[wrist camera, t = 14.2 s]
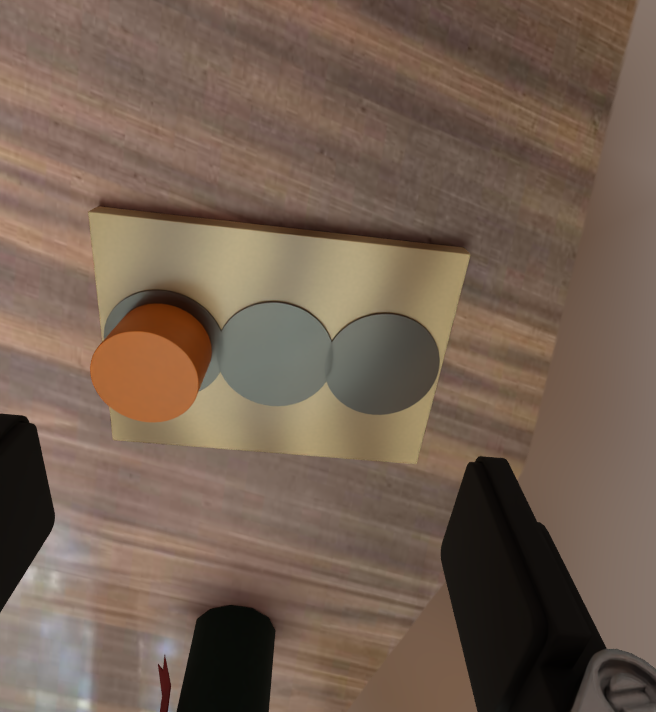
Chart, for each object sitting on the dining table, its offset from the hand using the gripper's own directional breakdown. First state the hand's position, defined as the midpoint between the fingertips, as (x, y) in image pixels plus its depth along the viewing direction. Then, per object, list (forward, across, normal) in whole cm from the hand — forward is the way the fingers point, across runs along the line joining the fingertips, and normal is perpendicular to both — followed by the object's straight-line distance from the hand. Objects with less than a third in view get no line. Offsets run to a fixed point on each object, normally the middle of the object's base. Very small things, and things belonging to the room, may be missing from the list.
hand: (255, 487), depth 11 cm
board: (+21, +1, +8) cm, 23 cm away
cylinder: (+20, +8, +8) cm, 22 cm away
